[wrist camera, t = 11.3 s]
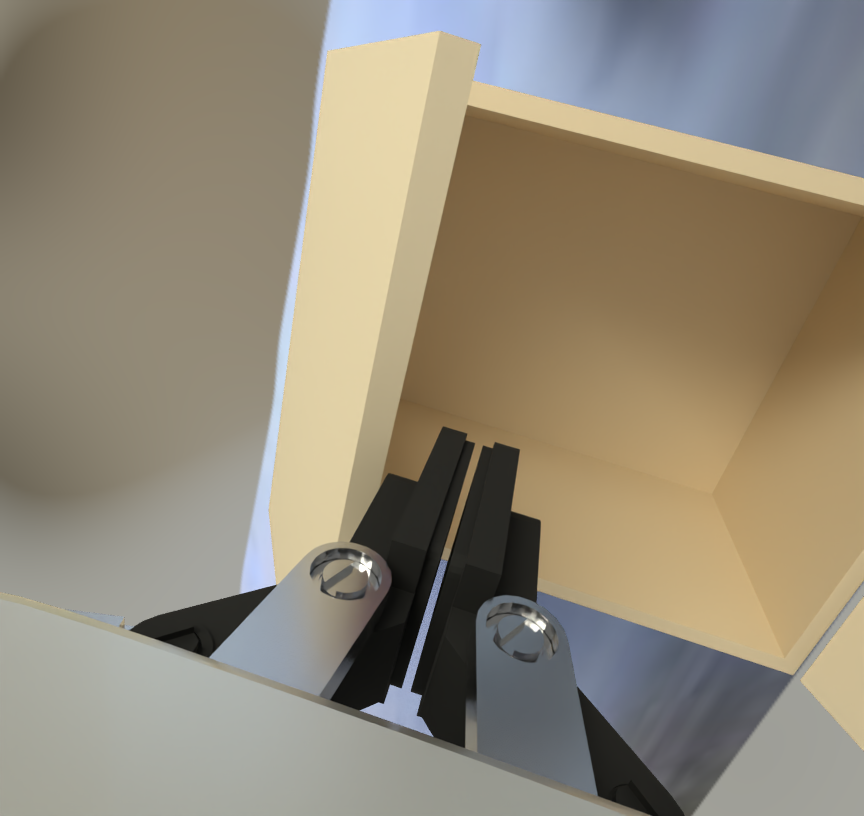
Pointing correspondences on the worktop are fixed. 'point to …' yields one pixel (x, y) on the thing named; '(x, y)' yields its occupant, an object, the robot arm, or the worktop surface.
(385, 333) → the low flap
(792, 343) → the carton
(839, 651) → the raised flap
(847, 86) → the worktop surface
